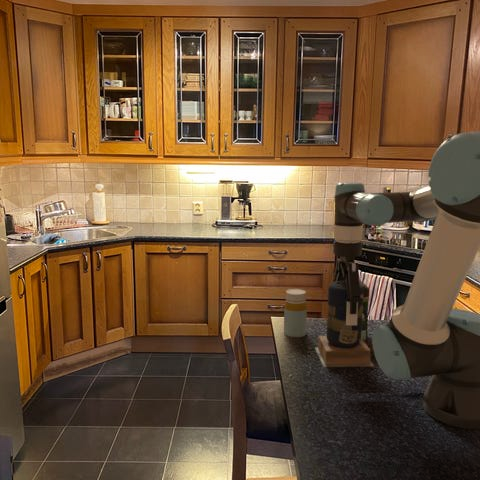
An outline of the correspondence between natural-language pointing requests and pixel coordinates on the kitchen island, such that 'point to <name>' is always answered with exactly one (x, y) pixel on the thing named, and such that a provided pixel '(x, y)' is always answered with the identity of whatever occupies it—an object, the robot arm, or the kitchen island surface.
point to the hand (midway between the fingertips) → (345, 316)
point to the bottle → (295, 313)
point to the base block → (344, 353)
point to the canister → (342, 317)
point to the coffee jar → (365, 311)
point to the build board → (339, 365)
